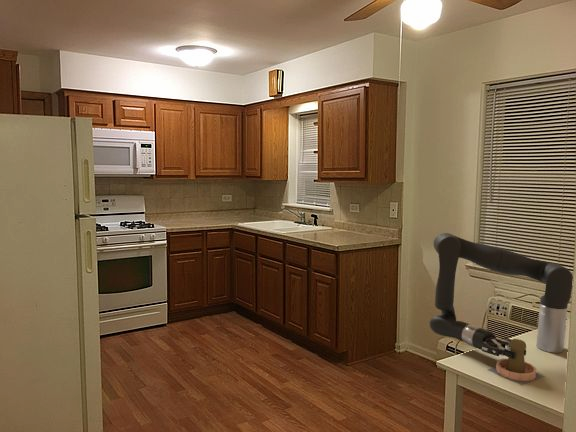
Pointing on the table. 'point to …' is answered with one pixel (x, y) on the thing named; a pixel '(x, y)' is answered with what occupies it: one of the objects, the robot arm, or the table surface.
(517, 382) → the mat
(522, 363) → the pepper mill
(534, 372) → the bowl
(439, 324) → the robot arm
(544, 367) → the table surface
